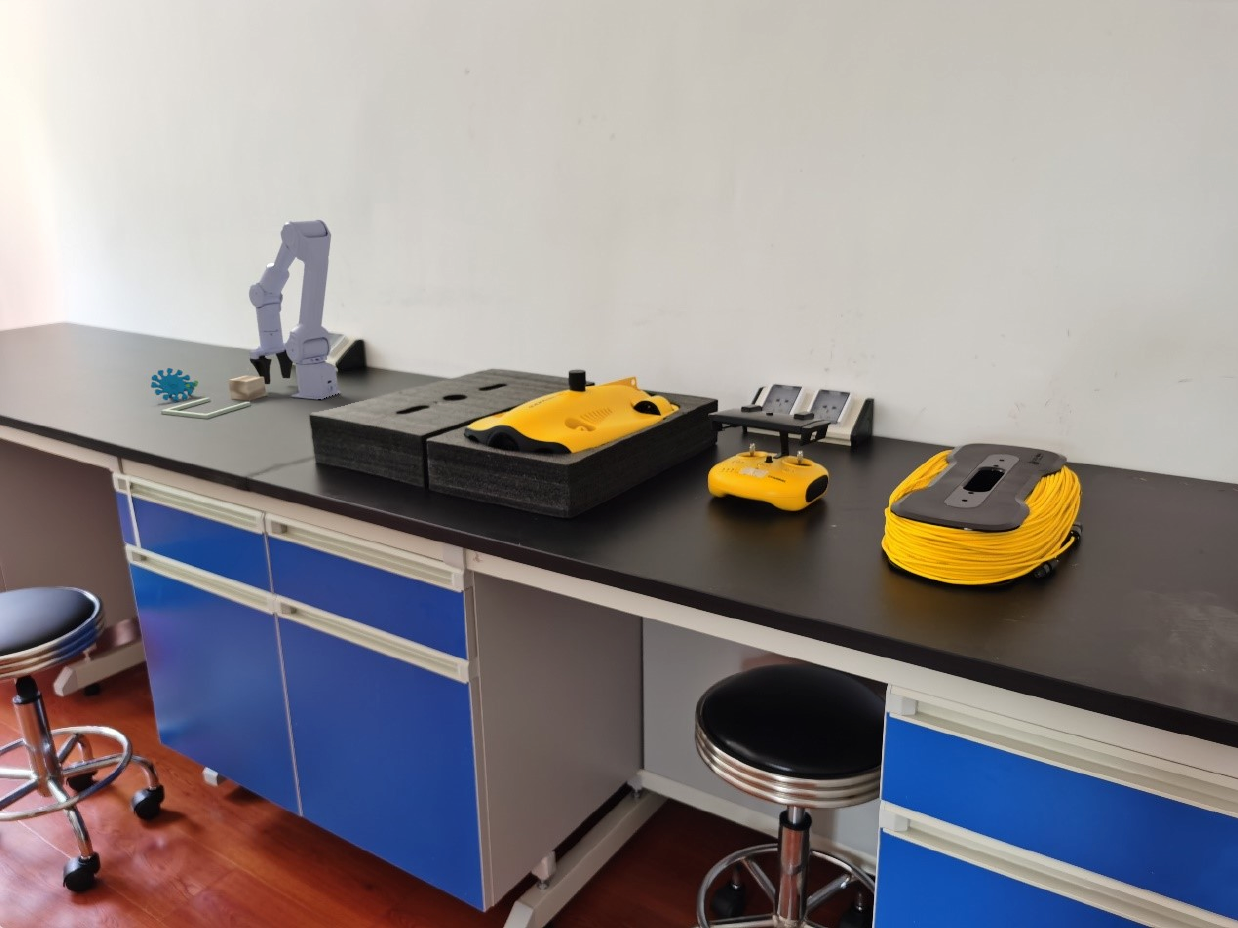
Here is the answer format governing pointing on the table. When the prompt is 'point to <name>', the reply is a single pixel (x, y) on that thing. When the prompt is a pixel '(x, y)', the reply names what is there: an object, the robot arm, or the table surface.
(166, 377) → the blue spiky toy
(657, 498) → the table surface
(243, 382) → the block
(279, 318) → the robot arm
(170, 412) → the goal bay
